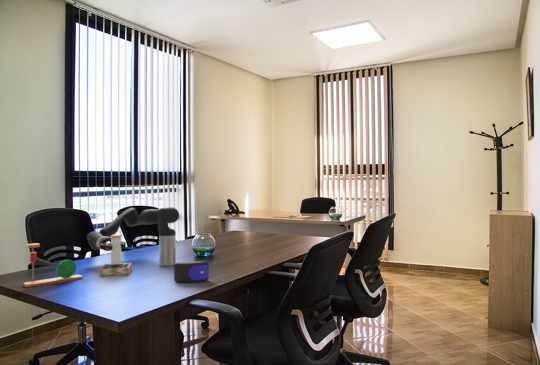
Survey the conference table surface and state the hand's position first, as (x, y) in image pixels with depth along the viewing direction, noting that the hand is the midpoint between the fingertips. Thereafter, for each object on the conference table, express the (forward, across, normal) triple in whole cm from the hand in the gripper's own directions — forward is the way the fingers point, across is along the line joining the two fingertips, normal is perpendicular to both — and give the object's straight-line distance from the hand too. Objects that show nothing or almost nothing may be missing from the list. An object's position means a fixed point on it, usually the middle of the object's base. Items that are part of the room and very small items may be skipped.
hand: (118, 246), depth 214 cm
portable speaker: (+43, +18, +14) cm, 48 cm away
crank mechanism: (-3, -30, +14) cm, 33 cm away
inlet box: (-2, 0, +14) cm, 14 cm away
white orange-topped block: (-2, 0, +9) cm, 9 cm away
